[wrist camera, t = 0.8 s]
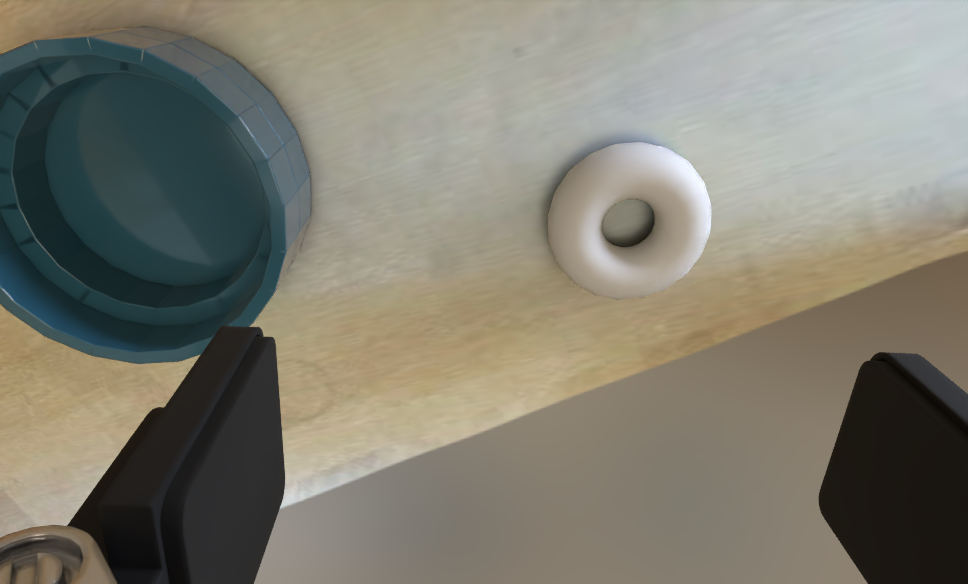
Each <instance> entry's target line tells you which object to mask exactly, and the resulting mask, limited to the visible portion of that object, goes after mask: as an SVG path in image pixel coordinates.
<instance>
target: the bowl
mask: <svg viewBox="0 0 968 584" xmlns="http://www.w3.org/2000/svg"><path fill="white" fill-rule="evenodd" d="M310 215H311V196H310V172H309V169H308V166H307V163H306V160H305V157H304V153H303V150H302V147H301V144H300V141H299V138H298V135H297V132H296V130H295V129H294V127H293V126H292V124H291V123H290V121H289V120H288V118H287V117H286V115H285V113H284V112H283V110H282V109H281V107H280V106H279V104H278V103H277V101H276V99H275V98H274V96H273V95H272V94H271V92H269V91H268V90H267V89H266V88H265V87H264V86H263V85H262V84H261V83H260V82H259V81H258V80H256V79H255V78H254V77H253V76H252V75H251V74H250V73H249V72H248V71H247V70H246V69H245V68H243V67H242V66H241V65H240V64H239V63H238V62H237V61H235V60H233V59H232V58H230V57H228V56H226V55H224V54H222V53H220V52H219V51H217V50H215V49H213V48H211V47H209V46H207V45H206V44H204V43H202V42H200V41H198V40H196V39H194V38H192V37H189V36H185V35H181V34H176V33H172V32H168V31H163V30H159V29H155V28H151V27H145V26H141V27H126V28H110V29H98V30H92V31H86V32H80V33H74V34H68V35H62V36H56V37H50V38H45V39H39V40H34V41H31V42H29V43H27V44H24V45H22V46H19V47H17V48H15V49H12V50H10V51H7V52H5V53H3V54H0V304H1V305H2V306H3V307H4V308H5V309H6V310H7V311H9V312H10V313H12V314H13V315H14V316H16V317H17V318H19V319H20V320H22V321H23V322H25V323H26V324H27V325H29V326H30V327H32V328H33V329H35V330H36V331H38V332H39V333H40V334H42V335H43V336H45V337H46V336H47V338H50V339H52V340H54V341H57V342H59V343H62V344H64V345H66V346H69V347H71V348H74V349H76V350H78V351H81V352H83V353H86V354H88V355H91V356H96V357H101V358H107V359H112V360H118V361H123V362H129V363H136V364H146V363H162V362H179V361H183V360H186V359H189V358H192V357H194V356H197V355H200V354H202V353H203V351H204V350H205V348H206V347H207V345H208V344H209V342H210V341H211V340H212V338H213V337H214V335H215V334H216V332H217V331H218V329H219V328H220V327H221V326H238V327H249V326H250V325H251V324H253V322H254V321H255V320H256V318H257V317H258V315H259V314H260V313H261V311H262V310H263V308H264V307H265V306H266V304H267V303H268V301H269V300H270V298H271V297H272V296H273V294H274V293H275V291H276V290H277V288H278V286H279V284H280V283H281V281H282V279H283V278H284V276H285V274H286V273H287V271H288V269H289V268H290V266H291V264H292V263H293V261H294V259H295V258H296V256H297V254H298V253H299V251H300V249H301V246H302V242H303V239H304V236H305V232H306V229H307V226H308V222H309V219H310Z"/></svg>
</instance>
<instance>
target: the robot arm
mask: <svg viewBox="0 0 968 584" xmlns="http://www.w3.org/2000/svg"><path fill="white" fill-rule="evenodd" d="M284 488H285V469H284V455H283V441H282V427H281V413H280V399H279V385H278V371H277V357H276V345H275V340H274V338H273V337H263V332H262V330H261V328H260V327H238V326H221V327H220V328H219V329H218V331H217V332H216V334H215V335H214V337H213V338H212V340H211V341H210V342H209V344H208V345H207V347H206V348H205V350H204V351H203V353H202V354H201V355H200V357H199V358H198V360H197V361H196V363H195V364H194V366H193V367H192V368H191V370H190V371H189V373H188V374H187V376H186V377H185V379H184V380H183V381H182V383H181V384H180V386H179V387H178V389H177V390H176V392H175V393H174V394H173V396H172V397H171V399H170V400H169V402H168V403H167V405H166V406H165V407H164V408H162V407H158V408H155V409H152V410H151V411H150V412H149V414H148V415H147V416H146V417H145V418H144V420H143V421H142V423H141V424H140V425H139V427H138V428H137V430H136V431H135V432H134V434H133V435H132V437H131V438H130V439H129V441H128V442H127V443H126V445H125V446H124V448H123V449H122V450H121V452H120V453H119V455H118V456H117V457H116V459H115V460H114V462H113V463H112V464H111V466H110V467H109V468H108V470H107V471H106V473H105V474H104V475H103V477H102V478H101V480H100V481H99V482H98V484H97V485H96V487H95V488H94V489H93V491H92V492H91V493H90V495H89V496H88V498H87V499H86V500H85V502H84V503H83V505H82V506H81V507H80V509H79V510H78V512H77V513H76V514H75V516H74V517H73V518H72V520H71V521H70V523H69V524H68V525H67V526H61V525H48V526H40V527H32V528H28V529H25V530H21V531H18V532H14V533H11V534H8V535H5V536H3V537H1V538H0V584H254V581H255V578H256V575H257V572H258V570H259V567H260V564H261V561H262V558H263V555H264V552H265V549H266V546H267V543H268V540H269V537H270V535H271V532H272V529H273V526H274V523H275V520H276V517H277V514H278V511H279V509H280V506H281V503H282V499H283V495H284ZM819 507H820V510H821V513H822V515H823V517H824V519H825V520H826V522H827V523H828V524H829V526H830V528H831V529H832V531H833V532H834V533H835V535H836V537H837V538H838V540H839V541H840V543H841V544H842V546H843V547H844V549H845V550H846V552H847V553H848V554H849V556H850V558H851V559H852V560H853V562H854V564H855V565H856V566H857V568H858V569H859V571H860V572H861V574H862V575H863V577H864V578H865V580H866V581H867V583H868V584H968V394H967V393H966V392H965V391H963V390H962V389H961V388H959V387H958V386H957V385H956V384H955V383H954V382H952V381H951V380H950V379H949V378H948V377H946V376H945V375H944V374H943V373H941V372H940V371H939V370H938V369H937V368H935V367H934V366H933V365H931V363H929V362H928V361H927V360H925V358H923V357H922V356H920V355H918V354H910V353H909V354H907V353H885V352H879V353H877V354H875V355H874V356H873V357H872V358H871V360H870V361H866V362H864V363H863V364H862V366H861V368H860V370H859V373H858V376H857V379H856V382H855V385H854V388H853V391H852V394H851V397H850V400H849V403H848V406H847V409H846V412H845V415H844V419H843V421H842V425H841V428H840V431H839V434H838V437H837V440H836V443H835V446H834V449H833V452H832V455H831V458H830V462H829V464H828V467H827V471H826V474H825V476H824V480H823V483H822V486H821V489H820V492H819Z"/></svg>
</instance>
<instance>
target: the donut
mask: <svg viewBox="0 0 968 584" xmlns="http://www.w3.org/2000/svg"><path fill="white" fill-rule="evenodd" d="M628 199H638V200H642V201H645V202H646V203H648V204H649V205H650V207H651V208H652V209H653V211H654V214H655V224H654V226H653V229H652V231H651V233H650V234H649V235H648V237H647V238H646V239H645V240H643V241H642V242H641V243H639V244H637V245H634V246H631V247H619V246H614V245H612V244H611V243H609V242H608V241H607V240H606V239H605V237H604V235H603V232H602V223H603V220H604V217H605V215H606V214H607V212H608V211H609V209H610V208H612V207H613V206H614V205H615V204H617V203H619V202H621V201H624V200H628ZM711 209H712V207H711V204H710V200H709V197H708V194H707V190H706V187H705V184H704V182H703V180H702V179H701V178H700V176H699V175H698V174H697V172H696V171H695V169H694V168H693V167H692V165H691V164H690V163H689V162H688V161H687V160H685V159H683V158H682V157H680V156H679V155H677V154H676V153H674V152H673V151H671V150H670V149H668V148H664V147H660V146H656V145H651V144H647V143H643V142H633V143H621V144H613V145H611V146H608V147H606V148H604V149H601V150H599V151H596V152H594V153H591V154H589V155H588V156H587V157H586V158H584V159H583V160H582V161H581V162H579V163H578V164H577V165H576V166H574V167H573V168H572V169H571V170H570V171H569V172H568V173H567V175H566V176H565V178H564V179H563V181H562V182H561V184H560V185H559V187H558V188H557V190H556V191H555V193H554V197H553V200H552V204H551V207H550V211H549V214H548V239H549V245H550V247H551V250H552V252H553V254H554V257H555V259H556V262H557V264H558V265H559V267H560V268H561V269H562V270H563V271H564V272H565V273H566V274H567V276H568V277H569V278H570V279H571V280H572V281H573V282H574V283H575V284H576V285H578V286H580V287H582V288H583V289H585V290H587V291H589V292H590V293H592V294H594V295H597V296H602V297H607V298H612V299H616V300H621V299H633V298H644V297H646V296H649V295H652V294H654V293H657V292H660V291H662V290H665V289H667V288H668V287H669V286H671V285H672V284H674V283H675V282H676V281H678V280H679V279H681V278H682V277H683V276H685V275H686V273H687V272H688V271H689V270H690V268H691V267H692V266H693V265H694V263H695V262H696V261H697V260H698V258H699V257H700V256H701V254H702V251H703V249H704V246H705V244H706V241H707V239H708V236H709V234H710V226H711Z"/></svg>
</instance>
